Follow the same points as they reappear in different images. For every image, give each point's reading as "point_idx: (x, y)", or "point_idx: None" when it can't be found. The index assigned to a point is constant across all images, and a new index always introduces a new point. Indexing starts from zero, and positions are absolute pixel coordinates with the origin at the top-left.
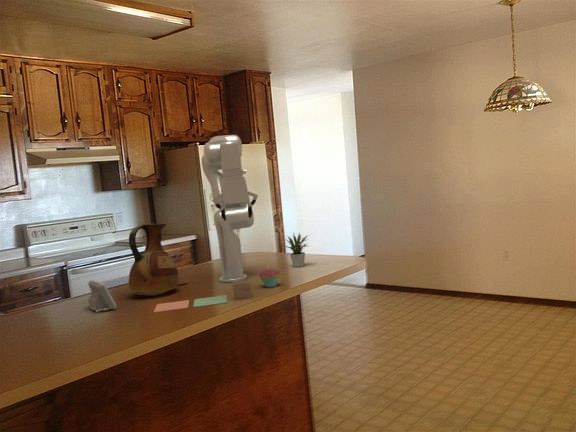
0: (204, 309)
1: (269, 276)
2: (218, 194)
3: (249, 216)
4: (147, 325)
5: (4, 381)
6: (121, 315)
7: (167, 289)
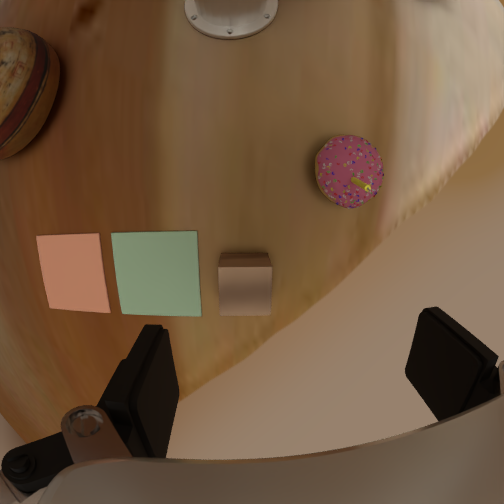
0: None
1: (345, 207)
2: None
3: (409, 379)
4: (74, 383)
5: None
6: (4, 287)
7: (36, 133)
